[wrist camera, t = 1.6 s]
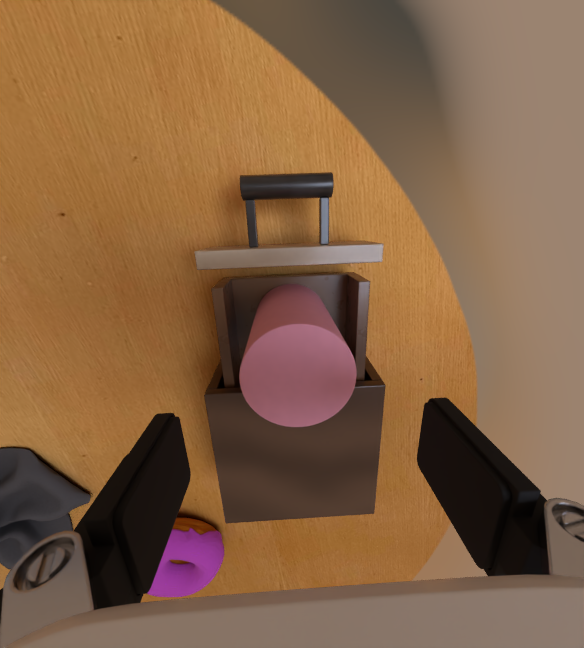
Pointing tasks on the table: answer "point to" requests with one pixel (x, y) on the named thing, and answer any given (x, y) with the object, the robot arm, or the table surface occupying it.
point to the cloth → (32, 503)
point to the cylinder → (296, 360)
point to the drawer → (246, 292)
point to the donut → (188, 559)
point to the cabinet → (296, 456)
